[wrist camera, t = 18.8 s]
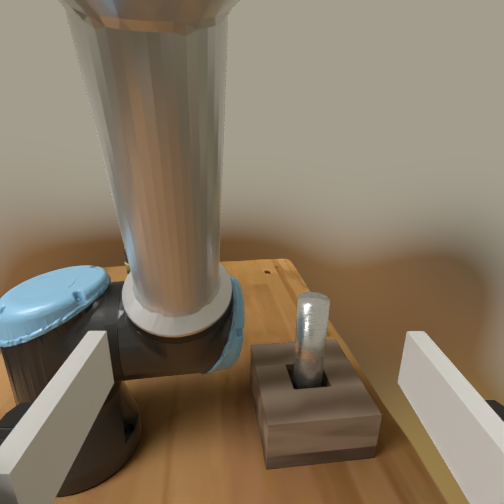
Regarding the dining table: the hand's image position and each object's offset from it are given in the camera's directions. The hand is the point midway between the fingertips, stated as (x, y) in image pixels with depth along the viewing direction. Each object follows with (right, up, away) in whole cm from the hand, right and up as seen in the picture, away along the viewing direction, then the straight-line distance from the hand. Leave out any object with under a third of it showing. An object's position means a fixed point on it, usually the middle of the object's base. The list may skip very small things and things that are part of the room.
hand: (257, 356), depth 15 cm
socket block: (+7, -19, +36) cm, 41 cm away
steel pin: (+7, -17, +35) cm, 40 cm away
